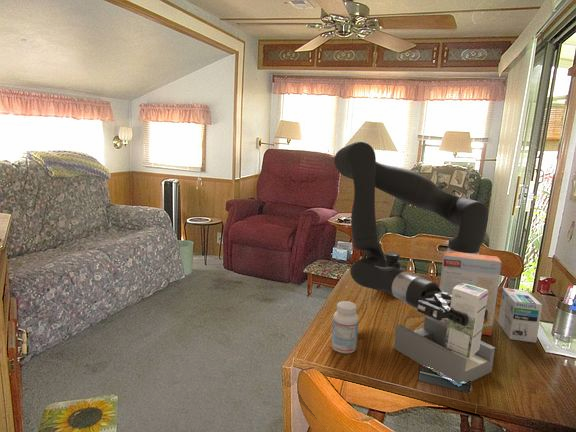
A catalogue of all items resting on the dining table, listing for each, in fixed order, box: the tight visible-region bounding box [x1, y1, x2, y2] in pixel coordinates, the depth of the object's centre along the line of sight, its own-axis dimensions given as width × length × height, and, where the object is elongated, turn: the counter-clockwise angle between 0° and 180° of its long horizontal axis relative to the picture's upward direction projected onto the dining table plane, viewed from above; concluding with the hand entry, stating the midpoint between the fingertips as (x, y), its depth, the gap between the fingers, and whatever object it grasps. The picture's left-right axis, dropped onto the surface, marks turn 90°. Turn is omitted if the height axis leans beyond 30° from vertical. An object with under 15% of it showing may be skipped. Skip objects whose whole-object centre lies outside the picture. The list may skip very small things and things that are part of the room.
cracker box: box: [439, 250, 502, 337], centre depth 109 cm, size 14×6×21 cm, turn 71°
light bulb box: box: [497, 287, 543, 343], centre depth 109 cm, size 11×7×11 cm, turn 168°
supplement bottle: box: [384, 251, 403, 270], centre depth 139 cm, size 7×7×12 cm
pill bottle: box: [330, 300, 360, 354], centre depth 96 cm, size 6×6×11 cm
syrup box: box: [445, 283, 488, 358], centre depth 88 cm, size 6×6×14 cm
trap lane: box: [393, 315, 496, 384], centre depth 94 cm, size 12×18×6 cm, turn 32°
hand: (476, 318), depth 85 cm, fingers closed on syrup box, 6 cm apart
